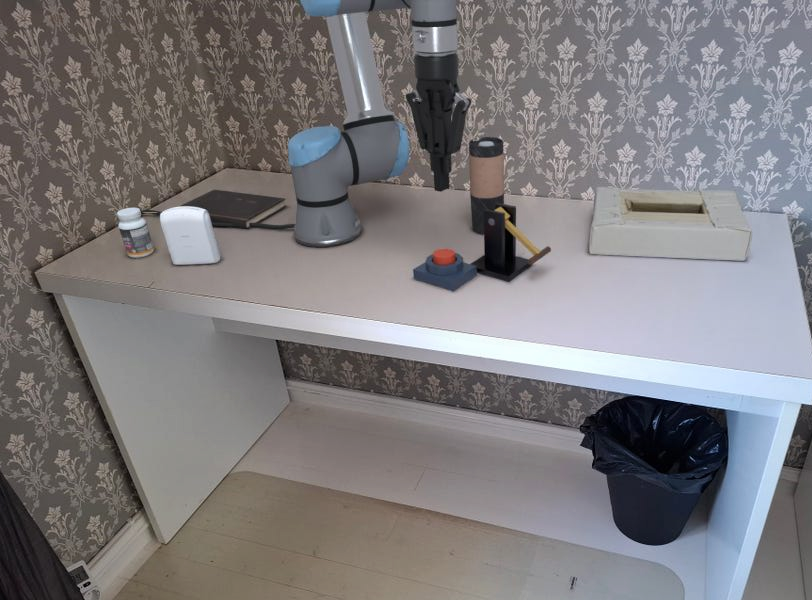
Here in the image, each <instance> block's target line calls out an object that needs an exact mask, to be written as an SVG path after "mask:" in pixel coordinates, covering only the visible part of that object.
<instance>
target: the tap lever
mask: <svg viewBox="0 0 812 600" xmlns="http://www.w3.org/2000/svg"><path fill="white" fill-rule="evenodd" d="M494 211H498V212H502V213H505V228H506V229H507V230H508V231H509V232H510V233H511V234H513V235H514V236H515V237H516V240H518V242H519V243H521V244H522V245H523V246H524V247H525V248H526V249H527V250H528V251H529V252H530V254H532V256H531V257H529V258H527V259H528V264H529V265H532V266H533V265H534V264H535V263H536V262H538V261H539V260H541V259H542V258H544V257H545V256H546V255H548V254H549V253H550V252H552V248H551V247H550V246H545V247H544V248H543V249H541V250H540V249H539V248H538V247H537V246H536V245H535V244H534V243H533V242H532V241H530V239H529V238H528V237H526V236H525V235H524V234H523V233H522V232H521V231H520V230H519V229H518V228H517V226H516V227H515V226H514V225H513V224H512V223H511V222H510V221H509V220H508V219H509V218H510V215H509V214H508V213H507V212H506V211H505V210H504V209H503V208H502V207H499V208H497V209H495V210H494Z"/></svg>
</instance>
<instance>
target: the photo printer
mask: <svg viewBox="0 0 812 600" xmlns="http://www.w3.org/2000/svg"><path fill="white" fill-rule="evenodd" d="M179 206H180V207H179ZM179 206H175V207H170V208H167V209H165V210H162V211H161V212H162V213H161V214H160V215H159V221H160V225H161V229H162V232H163V236H164V239H165V242H166V245H167V249H168V252H169V256H170V258H171V261H172V264H173V265H174V266H175V265H176V266H177V265H180V266H181V265H182V266H185V265H205V264H217V263H218V262H220V260H221V253H220V250H219V246H218V242H217V238H216V234H215V231H214V226H212V223H211V219H210V216H209V213H208V211H207V210H205V209H202V208H198V207H191V206H181V205H179Z"/></svg>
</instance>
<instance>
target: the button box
mask: <svg viewBox="0 0 812 600" xmlns="http://www.w3.org/2000/svg"><path fill="white" fill-rule="evenodd" d="M412 273H413V275H412V276H413V279H414V281H415V280H416V281H418V282H422V283H425V284H428V285H432V286H435V287H439V288H442V289H445V290H448V291H451V292H454V291H456V290H458V289H459V288H461V287H462V286H464V285H465V284H467V283H468V282H470V281H471V280H473V279H475V278H476V277H477V276H478V273H477V266H475V265H471V263H467V262H464V257H463V256H462V255H461V254H460V253H457V252H455V262H454V263H452V264H447V265H439V264H435V263H434V262H433V253H431V254H430V255H428V256H426V258H425V261H424V262H423V263H421V264H420V265H418V266H416V267H414V268H413V269H412Z"/></svg>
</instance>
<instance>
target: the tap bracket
mask: <svg viewBox="0 0 812 600" xmlns="http://www.w3.org/2000/svg"><path fill="white" fill-rule="evenodd" d="M499 207H502V208H503V209H504V210H505V211H506V212H507V213H508V214H509V215H510V218H509V219H508V220H509V221H510V222H511V223H512V224H513V225H514V226H515V227H516V228H517V206H515V205H510V204H506V203H504V204H502V203H496V204H495V209H497V208H499ZM483 247H484V249H483V252H484V253H483V255H482V256H480V257H479V258H477V259H475V260H473V261H472V262H471V263H470V264H471V265H475V266H477V274H479V275H482V276H483V275H484V276H487V277H490V278H493V279H497V280H501V281H503V282H508V283H509V282H511V281H513V280H514V279H516V278H517V277H518V276H519V275H521V274H523V273H524V272H525V271H526V270H528V269H529V268H531V267H532V266H533V264H532V265H529V264H528V259H529V258H525V257H522V256H517V248H516V247H517V238H516V237H515V236H514V235H513V234H511V233H510V232H509V231H508V230H507V229H506V228H505V213H502V212H498V211H493V210H489V209H485V210H484V234H483Z"/></svg>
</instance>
